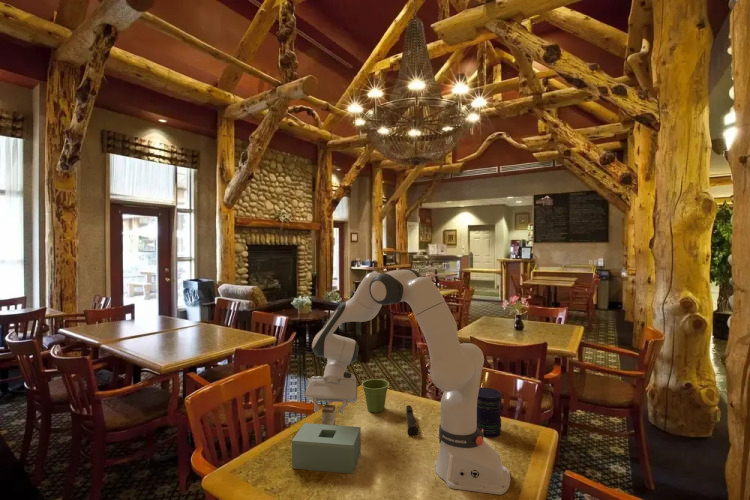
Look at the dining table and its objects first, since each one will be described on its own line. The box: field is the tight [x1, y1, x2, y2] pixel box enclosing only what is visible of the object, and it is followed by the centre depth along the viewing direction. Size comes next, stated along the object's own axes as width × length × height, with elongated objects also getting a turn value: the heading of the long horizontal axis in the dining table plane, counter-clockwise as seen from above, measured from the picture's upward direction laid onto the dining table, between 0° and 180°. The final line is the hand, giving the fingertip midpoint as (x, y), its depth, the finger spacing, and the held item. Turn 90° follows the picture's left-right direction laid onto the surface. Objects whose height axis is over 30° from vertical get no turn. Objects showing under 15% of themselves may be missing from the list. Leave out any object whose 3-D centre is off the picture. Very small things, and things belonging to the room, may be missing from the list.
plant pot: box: [361, 378, 390, 414], centre depth 167 cm, size 12×12×11 cm
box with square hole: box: [291, 422, 362, 475], centre depth 128 cm, size 20×12×9 cm, turn 81°
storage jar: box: [477, 387, 502, 439], centre depth 147 cm, size 10×10×15 cm
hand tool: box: [405, 404, 419, 437], centre depth 153 cm, size 19×4×5 cm, turn 178°
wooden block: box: [321, 404, 336, 425], centre depth 146 cm, size 4×4×10 cm
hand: (328, 412), depth 145 cm, fingers open, 8 cm apart
